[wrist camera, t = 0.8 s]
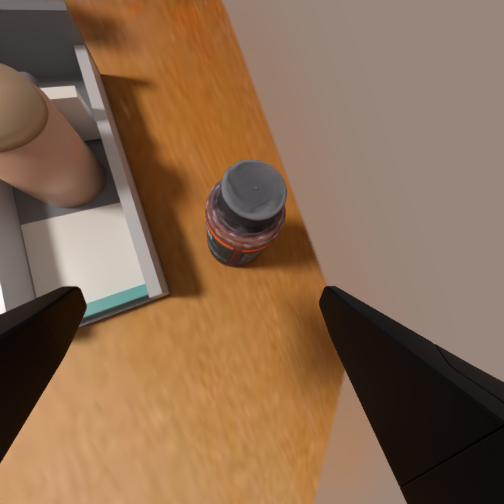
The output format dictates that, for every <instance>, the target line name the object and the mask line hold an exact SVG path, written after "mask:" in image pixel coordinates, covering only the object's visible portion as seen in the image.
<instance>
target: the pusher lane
mask: <svg viewBox="0 0 504 504" xmlns="http://www.w3.org/2000/svg"><path fill="white" fill-rule="evenodd" d="M0 63H1V64H4V65H6V66H9V67H11V68H13V69H15V70H16V71H18V72H27V73H29V74H31V75H33V76H34V77H35V78H36V79H37V80H38V81H39V85H40V88H49V87H62V86H75V88H76V89H77V91H78V92H79V94H80V95H81V97H82V98H83V100H84V101H85V103H86V105H87V106H88V108H89V109H90V111H91V112H92V114H93V115H94V117H95V119H96V122H97V125H98V129H99V132H100V135H101V139H95V140H88V141H84V142H85V143H86V144H87V146H88V147H89V148H90V149H91V151H92V152H93V153H94V154H95V155H96V157H97V158H98V159H99V160H100V162H101V163H102V164H103V166H104V168H105V170H106V184H105V186H104V189H103V190H102V192H101V193H100V194H99V195H98V196H97V197H96V198H95V199H94V200H92V201H91V202H89V203H87V204H84V205H82V206H78V207H74V208H56V207H52V206H49V205H46V204H44V203H42V202H40V201H38V200H37V199H35V198H33V197H31V196H30V195H28V194H26V193H24V192H22V191H21V190H19V189H17V188H15V187H14V186H12V185H10V184H8V183H6V182H5V181H3V180H1V179H0V314H2V313H5V312H7V311H9V310H11V309H13V308H16V307H18V306H20V305H22V304H25V303H27V302H29V301H31V300H33V299H36V298H38V297H40V296H42V295H44V294H47V293H49V292H51V291H53V290H55V289H58V288H60V287H63V286H78V287H79V288H81V291H82V293H83V296H84V298H85V301H86V304H87V309H86V313H85V315H84V317H83V319H82V321H81V323H80V325H79V327H78V328H80V327H82V326H85V325H88V324H91V323H93V322H96V321H99V320H101V319H104V318H107V317H110V316H112V315H115V314H118V313H120V312H123V311H126V310H129V309H131V308H134V307H137V306H139V305H142V304H145V303H148V302H150V301H153V300H156V299H158V298H161V297H164V296H167V295H169V294H171V293H170V290H169V287H168V284H167V281H166V278H165V275H164V272H163V268H162V265H161V262H160V259H159V256H158V253H157V250H156V246H155V243H154V240H153V237H152V234H151V231H150V228H149V225H148V221H147V218H146V215H145V212H144V209H143V206H142V203H141V199H140V196H139V193H138V190H137V187H136V184H135V181H134V178H133V174H132V171H131V168H130V165H129V162H128V159H127V156H126V152H125V149H124V146H123V143H122V140H121V137H120V134H119V131H118V127H117V124H116V121H115V118H114V115H113V112H112V109H111V105H110V102H109V99H108V96H107V93H106V90H105V87H104V84H103V80H102V77H101V74H100V72H99V70H98V68H97V66H96V64H95V62H94V60H93V58H92V56H91V54H90V52H89V50H88V48H87V46H86V44H85V42H84V40H83V38H82V35H81V33H80V31H79V29H78V27H77V25H76V23H75V21H74V19H73V17H72V15H71V13H70V11H69V9H68V7H67V5H66V3H65V1H57V0H0Z"/></svg>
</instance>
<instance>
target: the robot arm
mask: <svg viewBox="0 0 504 504" xmlns="http://www.w3.org/2000/svg"><path fill="white" fill-rule="evenodd" d="M319 306H320V309H321V312H322V315H323V318H324V320H325V323H326V326H327V329H328V332H329V335H330V337H331V340H332V342H333V344H334V347H335V349H336V351H337V353H338V355H339V357H340V360H341V362H342V364H343V366H344V368H345V370H346V372H347V375H348V377H349V379H350V381H351V383H352V385H353V387H354V390H355V392H356V394H357V396H358V398H359V401H360V402H361V405H362V407H363V409H364V411H365V413H366V416H367V418H368V420H369V422H370V424H371V426H372V428H373V431H374V433H375V435H376V437H377V439H378V441H379V444H380V446H381V448H382V450H383V452H384V454H385V456H386V459H387V461H388V463H389V465H390V467H391V469H392V472H393V474H394V476H395V478H396V480H397V482H398V485H399V486H400V489H401V491H402V494H403V496H404V498H405V500H406V502H407V504H504V382H502V381H501V380H499V379H497V378H495V377H493V376H491V375H489V374H488V373H486V372H484V371H482V370H480V369H478V368H476V367H475V366H473V365H471V364H469V363H467V362H466V361H464V360H462V359H460V358H459V357H457V356H455V355H453V354H452V353H450V352H448V351H446V350H445V349H443V348H441V347H439V346H438V345H436V344H433V343H432V342H431V341H429V340H427V339H426V338H424V337H422V336H420V335H418V334H417V333H415V332H414V331H412V330H410V329H408V328H407V327H405V326H403V325H401V324H400V323H398V322H396V321H395V320H393V319H391V318H389V317H388V316H386V315H384V314H383V313H381V312H379V311H377V310H376V309H374V308H372V307H370V306H369V305H367V304H365V303H364V302H361V301H360V300H358V299H357V298H355V297H353V296H352V295H350V294H348V293H346V292H344V291H343V290H341V289H339V288H338V287H336V286H326V287H325V288H324V290H323V292H322V295H321V298H320V300H319ZM86 309H87V304H86V301H85V298H84V296H83V293H82V291H81V288H79V287H78V286H63V287H60V288H58V289H55V290H53V291H51V292H49V293H47V294H44V295H42V296H40V297H38V298H36V299H33V300H31V301H29V302H27V303H25V304H22V305H20V306H18V307H16V308H13V309H11V310H9V311H7V312H5V313H2V314H0V463H1V461H2V460H3V458H4V456H5V455H6V453H7V451H8V450H9V448H10V446H11V445H12V443H13V441H14V440H15V438H16V436H17V435H18V433H19V431H20V430H21V428H22V426H23V425H24V423H25V421H26V420H27V418H28V416H29V415H30V413H31V412H32V410H33V408H34V407H35V405H36V403H37V402H38V400H39V398H40V397H41V395H42V393H43V392H44V390H45V388H46V387H47V385H48V383H49V382H50V380H51V378H52V377H53V375H54V373H55V372H56V370H57V368H58V367H59V365H60V363H61V362H62V360H63V358H64V356H65V354H66V352H67V351H68V349H69V346H70V344H71V342H72V340H73V338H74V336H75V334H76V332H77V329H78V327H79V325H80V323H81V321H82V319H83V317H84V315H85V313H86Z"/></svg>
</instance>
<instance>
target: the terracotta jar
mask: <svg viewBox="0 0 504 504" xmlns="http://www.w3.org/2000/svg"><path fill="white" fill-rule="evenodd" d="M0 179H1V180H3V181H5V182H6V183H8V184H10V185H12V186H14V187H15V188H17V189H19V190H21V191H22V192H24V193H26V194H28V195H30V196H31V197H33V198H35V199H37V200H38V201H40V202H42V203H44V204H46V205H49V206H52V207H56V208H74V207H78V206H82V205H84V204H87V203H89V202H91V201H92V200H94V199H95V198H96V197H97V196H98V195H99V194H100V193H101V192H102V190H103V189H104V186H105V184H106V170H105V168H104V166H103V164H102V163H101V162H100V160H99V159H98V158H97V157H96V155H95V154H94V153H93V152H92V151H91V149H90V148H89V147H88V146H87V144H86V143H85V142H84V141H83V139H82V138H81V137H80V136H79V135H78V133H77V132H76V131H75V130H74V128H73V127H72V126H71V125H70V123H69V122H68V121H67V120H66V119H65V117H64V116H63V115H62V114H61V112H60V111H59V110H58V109H57V107H56V106H55V105H54V104H53V103H52V101H51V100H50V99H49V98H48V96H47V95H46V94H45V93H44V92H43V91H42V90H41V89H40V88H38V87H37V86H36V85H34V84H32V83H31V82H29V81H28V80H27V78H25V77H24V76H23V75H22V74H21V73H19V72H18V71H16V70H15V69H13V68H11V67H9V66H6V65H4V64H1V63H0Z"/></svg>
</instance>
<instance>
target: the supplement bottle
mask: <svg viewBox="0 0 504 504" xmlns="http://www.w3.org/2000/svg"><path fill="white" fill-rule="evenodd" d="M286 197H287V189H286V185H285V182H284V180H283V178H282V176H281V175H280V174H279V173H278V171H277V170H276V169H274V168H273V167H272V166H270V165H269V164H267V163H265V162H262V161H258V160H252V159H251V160H242V161H239V162H237V163H235V164H233V165H232V166H231V167H229V168H228V170H227V171H226V172H225V174H224V175H223V178H222V179H221V180H220V181H218V182H217V183H216V184H215V186H214V187H213V188H212V189H211V191H210V193H209V195H208V198H207V201H206V209H205V210H206V226H207V239H208V245H209V249H210V251H211V253H212V255H213V256H214V258H215V259H216V260H217V261H219V262H220V263H222V264H224V265H226V266H230V267H241V266H245V265H247V264H249V263H250V262H252V261H253V260H254V259H255V258H257V257H258V256H259V255H260V254H261V253H262V252H263V251H264V250H265V249H266V248H267V247H268V246H269V245H270V244H271V243H272V242H273V241H274V240H275V239H276V238H277V236H278V235H279V233H280V232H281V230H282V228H283V225H284V222H285V217H286V210H285V202H286Z"/></svg>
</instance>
